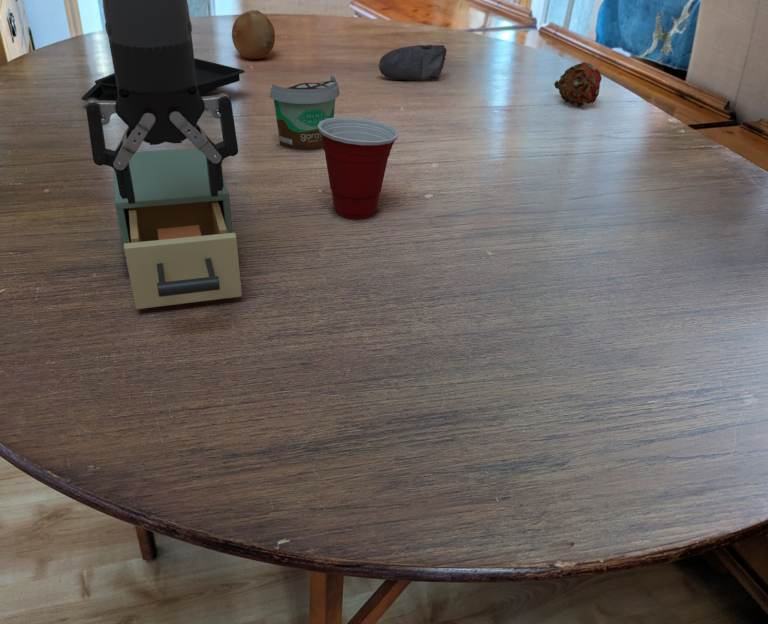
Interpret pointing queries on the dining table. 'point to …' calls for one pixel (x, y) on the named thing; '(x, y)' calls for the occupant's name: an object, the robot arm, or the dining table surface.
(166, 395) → the dining table surface
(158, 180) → the cabinet
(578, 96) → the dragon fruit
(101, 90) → the tray
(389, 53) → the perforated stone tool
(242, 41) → the brown oval lump
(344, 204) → the plastic cup
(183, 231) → the block
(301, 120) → the food container
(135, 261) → the drawer
